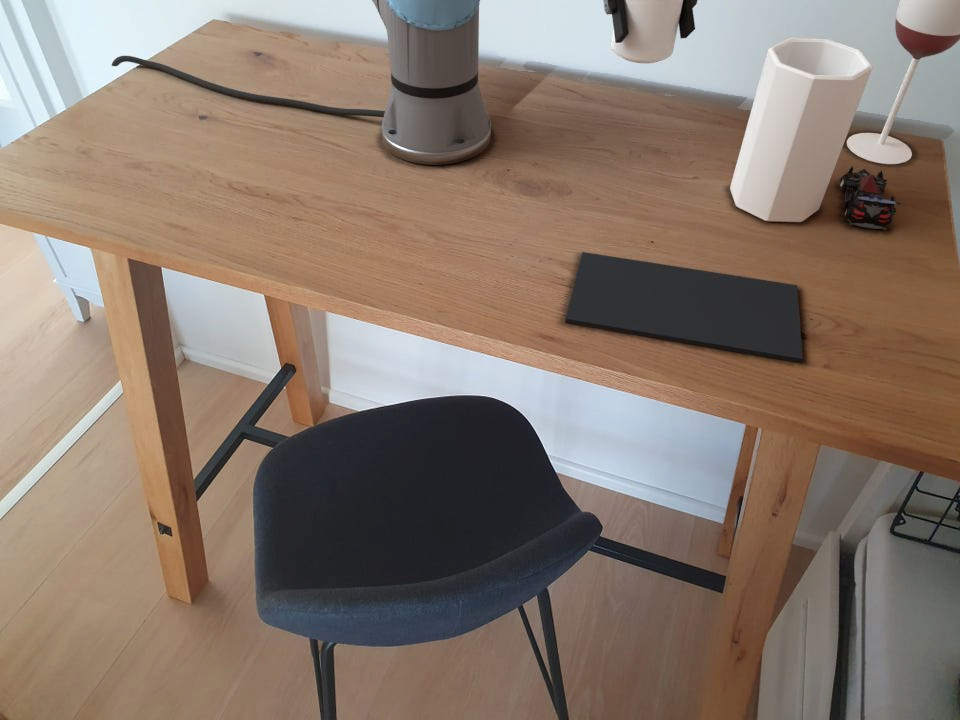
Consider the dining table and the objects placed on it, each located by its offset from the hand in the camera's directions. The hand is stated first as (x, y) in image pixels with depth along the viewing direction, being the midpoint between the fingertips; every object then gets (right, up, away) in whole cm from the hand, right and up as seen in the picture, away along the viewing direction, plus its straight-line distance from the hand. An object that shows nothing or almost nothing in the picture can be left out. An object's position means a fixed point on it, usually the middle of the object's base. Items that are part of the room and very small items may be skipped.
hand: (655, 35), depth 96 cm
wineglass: (+34, -11, +12) cm, 38 cm away
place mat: (0, -35, -13) cm, 37 cm away
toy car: (+27, -21, +2) cm, 34 cm away
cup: (+16, -20, +2) cm, 26 cm away
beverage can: (-1, 0, +5) cm, 5 cm away
